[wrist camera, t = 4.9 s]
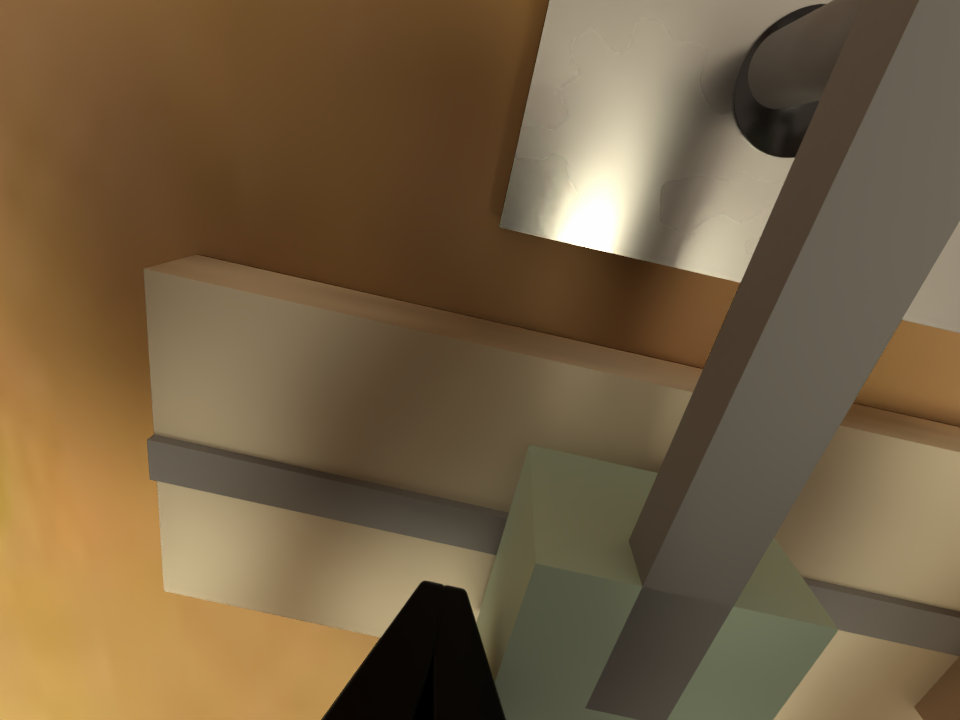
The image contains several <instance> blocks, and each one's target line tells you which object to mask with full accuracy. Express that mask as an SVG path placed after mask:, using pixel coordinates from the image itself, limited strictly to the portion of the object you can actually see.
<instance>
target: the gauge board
mask: <svg viewBox="0 0 960 720" xmlns="http://www.w3.org/2000/svg"><path fill="white" fill-rule="evenodd" d="M144 285H145V301H146V316H147V332H148V347H149V363H150V379H151V394H152V410H153V426H154V435H153V436H151V437H150V438H149V439H147V446H148V461H149V475H150V480H154V481H157V488H158V504H159V520H160V535H161V551H162V567H163V582H164V591H166V592H171V593H175V594H180V595H185V596H189V597H194V598H199V599H203V600H208V601H213V602H217V603H222V604H227V605H231V606H236V607H241V608H245V609H250V610H255V611H259V612H264V613H269V614H273V615H278V616H282V617H287V618H292V619H296V620H301V621H306V622H310V623H315V624H320V625H324V626H329V627H334V628H338V629H343V630H348V631H352V632H357V633H362V634H366V635H371V636H376V637H380V638H381V636H382V635H383V634H384V632H385V631H386V630H387V628H388V627H389V625H390V624H391V623H392V621H393V620H394V618H395V617H396V616H397V614H398V613H399V612H400V610H401V609H402V607H403V606H404V605H405V603H406V602H407V600H408V599H409V598H410V596H411V595H412V594H413V592H414V591H415V589H416V588H417V587H418V585H419V584H420V583H421V582H422V581H431V582H435V583H440V584H443V585H444V586H445V585H449V586H454V587H459V588H463V589H465V590H466V592H467V594H468V597H469V600H470V604H471V607H472V610H473V613H474V617H475V620H476V622H477V619H478V615H479V612H480V609H481V605H482V602H483V599H484V595H485V592H486V589H487V585H488V582H489V579H490V575H491V572H492V568H493V565H494V562H495V558H496V555H497V552H498V548H499V545H500V542H501V538H502V535H503V532H504V528H505V525H506V521H507V518H508V515H509V511H510V508H511V505H512V501H513V498H514V495H515V491H516V488H517V485H518V481H519V478H520V475H521V471H522V468H523V464H524V461H525V458H526V454H527V451H528V448H529V445H534V446H538V447H543V448H547V449H552V450H556V451H561V452H565V453H570V454H574V455H579V456H583V457H588V458H592V459H597V460H601V461H606V462H610V463H615V464H619V465H624V466H628V467H633V468H637V469H642V470H646V471H651V472H655V473H658V472H659V470H660V467H661V465H662V463H663V460H664V458H665V456H666V453H667V451H668V449H669V446H670V444H671V442H672V440H673V437H674V435H675V433H676V430H677V428H678V426H679V423H680V421H681V419H682V417H683V414H684V412H685V410H686V407H687V405H688V403H689V400H690V398H691V396H692V393H693V391H694V389H695V387H696V384H697V382H698V380H699V377H700V375H701V373H702V370H703V369H700V368H696V367H691V366H687V365H682V364H678V363H674V362H669V361H665V360H660V359H656V358H651V357H647V356H643V355H638V354H634V353H629V352H625V351H620V350H616V349H612V348H607V347H603V346H598V345H594V344H590V343H585V342H581V341H576V340H572V339H567V338H563V337H559V336H554V335H550V334H545V333H541V332H537V331H532V330H528V329H523V328H519V327H514V326H510V325H506V324H501V323H497V322H492V321H488V320H483V319H479V318H475V317H470V316H466V315H461V314H457V313H453V312H448V311H444V310H439V309H435V308H430V307H426V306H422V305H417V304H413V303H408V302H404V301H399V300H395V299H391V298H386V297H382V296H377V295H373V294H369V293H364V292H360V291H355V290H351V289H346V288H342V287H338V286H333V285H329V284H324V283H320V282H315V281H311V280H307V279H302V278H298V277H293V276H289V275H285V274H280V273H276V272H271V271H267V270H262V269H258V268H254V267H249V266H245V265H240V264H236V263H231V262H227V261H223V260H218V259H214V258H209V257H205V256H201V255H193V256H189V257H185V258H182V259H178V260H174V261H170V262H166V263H163V264H159V265H155V266H151V267H147V268H144ZM774 538H775V540H776V541H777V542H778V544H779V545H780V547H781V548H782V549H783V551H784V552H785V554H786V555H787V557H788V558H789V559H790V561H791V562H792V564H793V565H794V566H795V568H796V569H797V571H798V572H799V574H800V575H801V576H802V578H803V579H804V581H805V582H806V583H807V585H808V586H809V588H810V589H811V591H812V592H813V593H814V595H815V596H816V598H817V599H818V600H819V602H820V603H821V605H822V606H823V608H824V609H825V610H826V612H827V613H828V615H829V616H830V617H831V619H832V620H833V622H834V623H835V625H836V626H837V627H838V629H839V630H838V631H837V633H836V634H835V636H834V637H833V638H832V640H831V641H830V642H829V644H828V645H827V647H826V648H825V649H824V651H823V652H822V654H821V655H820V656H819V658H818V659H817V660H816V662H815V663H814V665H813V666H812V667H811V669H810V670H809V671H808V673H807V674H806V676H805V677H804V678H803V680H802V681H801V682H800V684H799V685H798V687H797V688H796V689H795V691H794V692H793V693H792V695H791V696H790V698H789V699H788V700H787V702H786V703H785V704H784V706H783V707H782V709H781V710H780V711H779V713H778V714H777V715H776V717H775V718H774V720H960V427H956V426H952V425H948V424H943V423H939V422H934V421H930V420H926V419H921V418H917V417H912V416H908V415H903V414H899V413H895V412H890V411H886V410H881V409H877V408H872V407H868V406H864V405H859V404H855V403H853V404H852V405H851V407H850V409H849V410H848V412H847V414H846V416H845V417H844V419H843V421H842V422H841V424H840V426H839V428H838V429H837V431H836V433H835V434H834V436H833V438H832V439H831V441H830V443H829V445H828V446H827V448H826V450H825V451H824V453H823V455H822V456H821V458H820V460H819V462H818V463H817V465H816V467H815V468H814V470H813V472H812V474H811V475H810V477H809V479H808V480H807V482H806V484H805V485H804V487H803V489H802V491H801V492H800V494H799V496H798V497H797V499H796V501H795V502H794V504H793V506H792V508H791V509H790V511H789V513H788V514H787V516H786V518H785V520H784V521H783V523H782V525H781V526H780V528H779V530H778V531H777V533H776V535H775V537H774Z"/></svg>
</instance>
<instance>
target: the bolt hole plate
mask: <svg viewBox="0 0 960 720" xmlns="http://www.w3.org/2000/svg"><path fill="white" fill-rule="evenodd" d="M831 1H833V0H550V1H549V5H548V10H547V14H546V19H545V23H544V28H543V32H542V37H541V41H540V46H539V50H538V55H537V59H536V64H535V68H534V73H533V77H532V82H531V86H530V91H529V95H528V100H527V104H526V109H525V113H524V118H523V122H522V127H521V131H520V136H519V140H518V145H517V149H516V154H515V158H514V163H513V167H512V172H511V176H510V181H509V185H508V190H507V194H506V199H505V203H504V208H503V212H502V217H501V221H500V226H499V227H500V228H504V229H508V230H513V231H517V232H521V233H526V234H530V235H535V236H539V237H543V238H548V239H552V240H556V241H561V242H565V243H569V244H574V245H578V246H582V247H587V248H591V249H596V250H600V251H604V252H609V253H613V254H617V255H622V256H626V257H630V258H635V259H639V260H644V261H648V262H652V263H657V264H661V265H665V266H670V267H674V268H678V269H683V270H687V271H691V272H696V273H700V274H705V275H709V276H713V277H718V278H722V279H726V280H731V281H735V282H739V283H741V281H742V278H743V276H744V274H745V271H746V269H747V267H748V265H749V262H750V260H751V258H752V255H753V253H754V251H755V248H756V246H757V244H758V241H759V239H760V237H761V235H762V232H763V230H764V228H765V225H766V223H767V221H768V218H769V216H770V214H771V212H772V209H773V207H774V205H775V202H776V200H777V198H778V195H779V193H780V191H781V189H782V186H783V184H784V182H785V179H786V177H787V175H788V172H789V170H790V168H791V165H792V163H793V161H794V159H795V156H796V154H797V152H798V149H799V147H800V145H801V142H802V140H803V138H804V136H805V133H806V131H807V129H808V126H809V124H810V122H811V119H812V117H813V115H814V112H815V110H816V108H817V106H818V103H819V101H815V102H811V103H806V104H802V105H798V106H793V107H789V108H785V109H770V108H767V107H765V106H763V105H761V104H760V103H758V102H757V101H756V100H755V98H754V97H753V95H752V93H751V91H750V88H749V83H748V71H749V66H750V63H751V60H752V57H753V55H754V53H755V52H756V50H757V48H758V47H759V46H760V44H761V43H762V42H763V41H764V40H765V39H766V38H767V37H768V36H769V35H771V34H772V33H774V32H775V31H777V30H779V29H781V28H783V27H784V26H786V25H788V24H790V23H792V22H794V21H796V20H797V19H799V18H801V17H803V16H805V15H807V14H809V13H811V12H812V11H814V10H816V9H818V8H820V7H822V6H824V5H826V4H827V3H829V2H831ZM902 320H905V321H909V322H914V323H918V324H922V325H927V326H931V327H936V328H940V329H944V330H949V331H953V332H957V333H960V221H959V223H958V225H957V226H956V228H955V230H954V232H953V233H952V235H951V237H950V238H949V240H948V242H947V244H946V245H945V247H944V249H943V250H942V252H941V254H940V255H939V257H938V259H937V261H936V262H935V264H934V266H933V267H932V269H931V271H930V272H929V274H928V276H927V278H926V279H925V281H924V283H923V284H922V286H921V288H920V290H919V291H918V293H917V295H916V296H915V298H914V300H913V301H912V303H911V305H910V307H909V308H908V310H907V312H906V313H905V315H904V317H903V318H902Z"/></svg>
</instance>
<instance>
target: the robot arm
mask: <svg viewBox="0 0 960 720" xmlns="http://www.w3.org/2000/svg"><path fill="white" fill-rule="evenodd" d="M321 720H506V718H505V715H504V711H503V708H502V705H501V701H500V698H499V695H498V692H497V688H496V685H495V682H494V679H493V675H492V672H491V669H490V666H489V662H488V659H487V656H486V653H485V649H484V646H483V643H482V640H481V636H480V633H479V630H478V627H477V623H476V620H475V617H474V613H473V610H472V607H471V604H470V600H469V597H468V594H467V592H466V590H465V589H463V588H459V587H454V586H449V585H445V586H444V585H443V584H440V583H435V582H431V581H422V582H421V583H420V584H419V585H418V587H417V588H416V589H415V591H414V592H413V594H412V595H411V596H410V598H409V599H408V600H407V602H406V603H405V605H404V606H403V607H402V609H401V610H400V612H399V613H398V614H397V616H396V617H395V618H394V620H393V621H392V623H391V624H390V625H389V627H388V628H387V630H386V631H385V632H384V634H383V635H382V636H381V638H380V639H379V641H378V642H377V643H376V645H375V646H374V647H373V649H372V650H371V652H370V653H369V654H368V656H367V657H366V659H365V660H364V661H363V663H362V664H361V665H360V667H359V668H358V670H357V671H356V672H355V674H354V675H353V676H352V678H351V679H350V681H349V682H348V683H347V685H346V686H345V688H344V689H343V690H342V692H341V693H340V694H339V696H338V697H337V699H336V700H335V701H334V703H333V704H332V706H331V707H330V708H329V710H328V711H327V712H326V714H325V715H324V717H323V718H322V719H321Z"/></svg>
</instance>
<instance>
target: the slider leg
mask: <svg viewBox="0 0 960 720" xmlns="http://www.w3.org/2000/svg"><path fill="white" fill-rule="evenodd" d="M748 83H749V88H750V91H751V93H752V95H753V97H754V98H755V100H756V101H757V102H758V103H760V104H761V105H763V106H765V107H767V108H770V109H785V108H789V107H793V106H798V105H802V104H806V103H811V102H815V101H819V103H818V106H817V108H816V110H815V112H814V115H813V117H812V119H811V122H810V124H809V126H808V129H807V131H806V133H805V136H804V138H803V140H802V142H801V145H800V147H799V149H798V152H797V154H796V156H795V159H794V161H793V163H792V165H791V168H790V170H789V172H788V175H787V177H786V179H785V182H784V184H783V186H782V189H781V191H780V193H779V195H778V198H777V200H776V202H775V205H774V207H773V209H772V212H771V214H770V216H769V218H768V221H767V223H766V225H765V228H764V230H763V232H762V235H761V237H760V239H759V241H758V244H757V246H756V248H755V251H754V253H753V255H752V258H751V260H750V262H749V265H748V267H747V269H746V271H745V274H744V276H743V278H742V281H741V283H740V285H739V288H738V290H737V292H736V294H735V297H734V299H733V301H732V304H731V306H730V308H729V311H728V313H727V315H726V317H725V320H724V322H723V324H722V327H721V329H720V331H719V334H718V336H717V338H716V341H715V343H714V345H713V347H712V350H711V352H710V354H709V357H708V359H707V361H706V364H705V366H704V368H703V370H702V373H701V375H700V377H699V380H698V382H697V384H696V387H695V389H694V391H693V393H692V396H691V398H690V400H689V403H688V405H687V407H686V410H685V412H684V414H683V417H682V419H681V421H680V423H679V426H678V428H677V430H676V433H675V435H674V437H673V440H672V442H671V444H670V446H669V449H668V451H667V453H666V456H665V458H664V460H663V463H662V465H661V467H660V470H659V472H658V473H655V472H651V471H646V470H642V469H637V468H633V467H628V466H624V465H619V464H615V463H610V462H606V461H601V460H597V459H592V458H588V457H583V456H579V455H574V454H570V453H565V452H561V451H556V450H552V449H547V448H543V447H538V446H534V445H529V448H528V451H527V454H526V458H525V461H524V464H523V468H522V471H521V475H520V478H519V481H518V485H517V488H516V491H515V495H514V498H513V501H512V505H511V508H510V511H509V515H508V518H507V521H506V525H505V528H504V532H503V535H502V538H501V542H500V545H499V548H498V552H497V555H496V558H495V562H494V565H493V568H492V572H491V575H490V579H489V582H488V585H487V589H486V592H485V595H484V599H483V602H482V605H481V609H480V612H479V615H478V619H477V622H476V623H477V627H478V630H479V633H480V636H481V640H482V643H483V646H484V649H485V653H486V656H487V659H488V662H489V666H490V669H491V672H492V675H493V679H494V682H495V685H496V688H497V692H498V695H499V698H500V701H501V705H502V708H503V711H504V715H505V718H506V720H774V718H775V717H776V715H777V714H778V713H779V711H780V710H781V709H782V707H783V706H784V704H785V703H786V702H787V700H788V699H789V698H790V696H791V695H792V693H793V692H794V691H795V689H796V688H797V687H798V685H799V684H800V682H801V681H802V680H803V678H804V677H805V676H806V674H807V673H808V671H809V670H810V669H811V667H812V666H813V665H814V663H815V662H816V660H817V659H818V658H819V656H820V655H821V654H822V652H823V651H824V649H825V648H826V647H827V645H828V644H829V642H830V641H831V640H832V638H833V637H834V636H835V634H836V633H837V631H838V630H839V629H838V627H837V626H836V625H835V623H834V622H833V620H832V619H831V617H830V616H829V615H828V613H827V612H826V610H825V609H824V608H823V606H822V605H821V603H820V602H819V600H818V599H817V598H816V596H815V595H814V593H813V592H812V591H811V589H810V588H809V586H808V585H807V583H806V582H805V581H804V579H803V578H802V576H801V575H800V574H799V572H798V571H797V569H796V568H795V566H794V565H793V564H792V562H791V561H790V559H789V558H788V557H787V555H786V554H785V552H784V551H783V549H782V548H781V547H780V545H779V544H778V542H777V541H776V540H775V538H774V537H775V535H776V533H777V531H778V530H779V528H780V526H781V525H782V523H783V521H784V520H785V518H786V516H787V514H788V513H789V511H790V509H791V508H792V506H793V504H794V502H795V501H796V499H797V497H798V496H799V494H800V492H801V491H802V489H803V487H804V485H805V484H806V482H807V480H808V479H809V477H810V475H811V474H812V472H813V470H814V468H815V467H816V465H817V463H818V462H819V460H820V458H821V456H822V455H823V453H824V451H825V450H826V448H827V446H828V445H829V443H830V441H831V439H832V438H833V436H834V434H835V433H836V431H837V429H838V428H839V426H840V424H841V422H842V421H843V419H844V417H845V416H846V414H847V412H848V410H849V409H850V407H851V405H852V404H853V402H854V400H855V399H856V397H857V395H858V393H859V392H860V390H861V388H862V387H863V385H864V383H865V382H866V380H867V378H868V376H869V375H870V373H871V371H872V370H873V368H874V366H875V364H876V363H877V361H878V359H879V358H880V356H881V354H882V353H883V351H884V349H885V347H886V346H887V344H888V342H889V341H890V339H891V337H892V336H893V334H894V332H895V330H896V329H897V327H898V325H899V324H900V322H901V320H902V318H903V317H904V315H905V313H906V312H907V310H908V308H909V307H910V305H911V303H912V301H913V300H914V298H915V296H916V295H917V293H918V291H919V290H920V288H921V286H922V284H923V283H924V281H925V279H926V278H927V276H928V274H929V272H930V271H931V269H932V267H933V266H934V264H935V262H936V261H937V259H938V257H939V255H940V254H941V252H942V250H943V249H944V247H945V245H946V244H947V242H948V240H949V238H950V237H951V235H952V233H953V232H954V230H955V228H956V226H957V225H958V223H959V221H960V0H833V1H831V2H829V3H827V4H826V5H824V6H822V7H820V8H818V9H816V10H814V11H812V12H811V13H809V14H807V15H805V16H803V17H801V18H799V19H797V20H796V21H794V22H792V23H790V24H788V25H786V26H784V27H783V28H781V29H779V30H777V31H775V32H774V33H772V34H771V35H769V36H768V37H767V38H766V39H765V40H764V41H763V42H762V43H761V44H760V46H759V47H758V48H757V50H756V52H755V53H754V55H753V57H752V60H751V63H750V66H749V71H748Z"/></svg>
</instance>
